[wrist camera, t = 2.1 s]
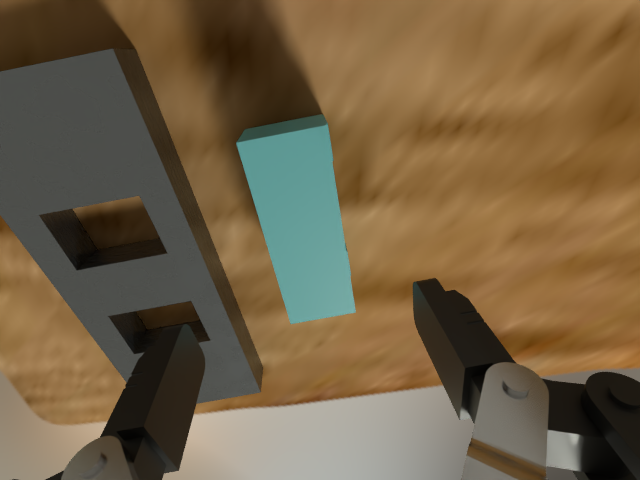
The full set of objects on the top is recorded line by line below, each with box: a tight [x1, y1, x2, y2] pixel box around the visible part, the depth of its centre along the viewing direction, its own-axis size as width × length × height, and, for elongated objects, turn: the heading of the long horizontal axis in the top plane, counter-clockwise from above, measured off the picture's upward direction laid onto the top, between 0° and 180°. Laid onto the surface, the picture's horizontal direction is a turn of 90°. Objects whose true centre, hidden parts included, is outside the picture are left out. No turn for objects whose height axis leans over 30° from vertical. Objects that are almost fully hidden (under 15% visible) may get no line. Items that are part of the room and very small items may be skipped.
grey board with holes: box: [0, 49, 263, 404], centre depth 23 cm, size 10×26×2 cm, turn 10°
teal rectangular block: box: [236, 114, 356, 324], centre depth 19 cm, size 4×11×6 cm, turn 10°
